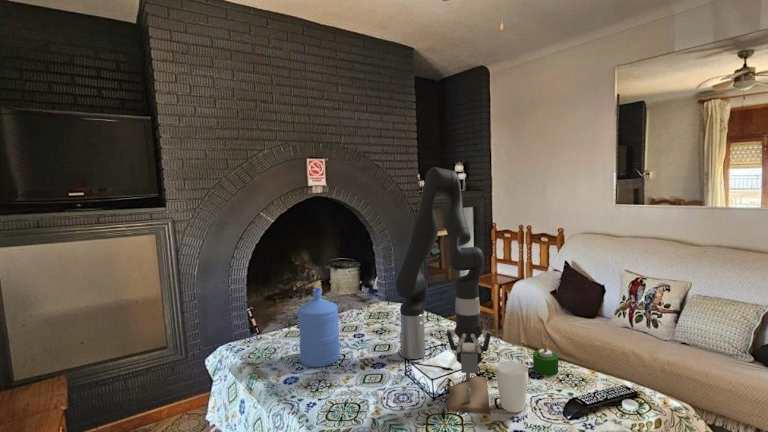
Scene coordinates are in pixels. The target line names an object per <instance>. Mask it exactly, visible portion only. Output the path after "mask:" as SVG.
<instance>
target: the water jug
mask: <svg viewBox="0 0 768 432" xmlns="http://www.w3.org/2000/svg"><path fill="white" fill-rule="evenodd" d="M312 297H313V298H312V300H310V301H308V302H306V303H304V304H302V305H300V306H299V308H297V321H298V329H299V339H300V340H299V361H300V363H301V364H302V365H303V366H307V367H310V368H323V367H327V366H330V365H333V364H335V363H336V362H337V361H338V360H339V359H340V357H341V350H340V330H339V308H338V305H337V304H336V303H335V302H332V301H329V300H326V299H323V298H322V289H321V288H318V287H317V288H313V289H312Z"/></svg>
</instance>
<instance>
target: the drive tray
mask: <svg viewBox="0 0 768 432" xmlns="http://www.w3.org/2000/svg"><path fill="white" fill-rule="evenodd" d="M465 376H466V381H464V382H462V383H459V384H457V385H453V386H450V385H449V391H448V406H447V407H448V409H447V410H449V411H458V412H459V411H462V412H472V413H473V412H474V413H484V414H490V413H491V408H490V407H491V406H490V405H491V404H490V399H489V390H488V380H487V377H486V376H475V375H474V377H473V378H471V379H470V376H471V373H465Z"/></svg>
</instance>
